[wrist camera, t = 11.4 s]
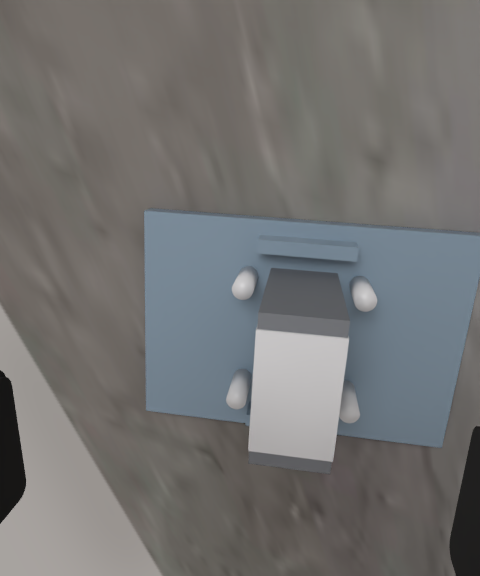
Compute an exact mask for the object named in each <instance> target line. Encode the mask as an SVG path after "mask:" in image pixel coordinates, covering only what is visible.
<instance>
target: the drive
mask: <svg viewBox="0 0 480 576" xmlns="http://www.w3.org/2000/svg"><path fill="white" fill-rule="evenodd" d="M349 326H350V319H349V315H348V311H347V307H346V303H345V300H344V296H343V292H342V288H341V284H340V280H339V277H338V273H330V272H318V271H306V270H294V269H282V268H271V270H270V273H269V277H268V280H267V284H266V287H265V291H264V294H263V298H262V301H261V305H260V308H259V312H258V324H257V328H256V336H255V352H254V367H253V382H252V398H251V413H250V429H249V444H248V451H249V462H248V463H249V464H256V465H264V466H272V467H279V468H287V469H294V470H302V471H309V472H317V473H324V474H330V471H331V463H332V462H333V458H334V451H335V443H336V436H337V428H338V420H339V413H340V405H341V398H342V390H343V383H344V375H345V367H346V360H347V352H348V345H349V336H348V333H349Z"/></svg>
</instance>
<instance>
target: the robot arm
mask: <svg viewBox="0 0 480 576" xmlns="http://www.w3.org/2000/svg"><path fill="white" fill-rule="evenodd" d="M25 487H26V477H25V470H24V463H23V457H22V450H21V443H20V436H19V430H18V423H17V417H16V410H15V403H14V397H13V389H12V385H11V381H10V380H9V379H8V378H7V377H6V376H5V374H4V373H3V372H2V371H0V523H1V522H2V521H3V520H4V519H5V517H6V516H7V515H8V514H9V513H10V511H11V510H12V509H13V508H14V506H15V505H16V504H17V503H18V502H19V500H20V498H21V497H22V495H23V493H24V491H25ZM450 555H451V560H452V564H453V567H454V570H455V573H456V576H480V426H476V427H475V428H474V430H473V433H472V437H471V442H470V446H469V451H468V456H467V461H466V465H465V470H464V475H463V480H462V484H461V489H460V494H459V499H458V503H457V508H456V513H455V518H454V522H453V527H452V532H451V537H450Z"/></svg>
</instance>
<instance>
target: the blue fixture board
mask: <svg viewBox="0 0 480 576" xmlns="http://www.w3.org/2000/svg"><path fill="white" fill-rule="evenodd" d="M144 227H145V341H146V411H154V412H161V413H169V414H177V415H185V416H193V417H201V418H209V419H217V420H225V421H233V422H240V423H246V425H245V426H250V413H251V398H252V382H253V367H254V352H255V336H256V328H257V324H258V312H259V308H260V305H261V301H262V298H263V294H264V291H265V287H266V284H267V280H268V277H269V273H270V270H271V268H282V269H294V270H306V271H318V272H330V273H338V277H339V280H340V284H341V288H342V292H343V296H344V300H345V303H346V307H347V311H348V315H349V319H350V326H349V333H348V336H349V345H348V352H347V360H346V367H345V375H344V383H343V390H342V398H341V405H340V413H339V420H338V428H337V435H343V436H351V437H359V438H367V439H375V440H383V441H391V442H398V443H406V444H414V445H422V446H430V447H438V448H442V445H443V440H444V436H445V431H446V427H447V422H448V418H449V413H450V408H451V404H452V399H453V395H454V390H455V386H456V381H457V377H458V372H459V368H460V363H461V359H462V354H463V350H464V345H465V341H466V336H467V332H468V327H469V322H470V318H471V313H472V309H473V304H474V300H475V295H476V291H477V286H478V282H479V277H480V233H475V232H462V231H448V230H435V229H421V228H408V227H395V226H381V225H368V224H354V223H341V222H327V221H314V220H301V219H287V218H274V217H260V216H247V215H233V214H220V213H207V212H193V211H180V210H166V209H153V208H150V209H148V210H145V211H144Z"/></svg>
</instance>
